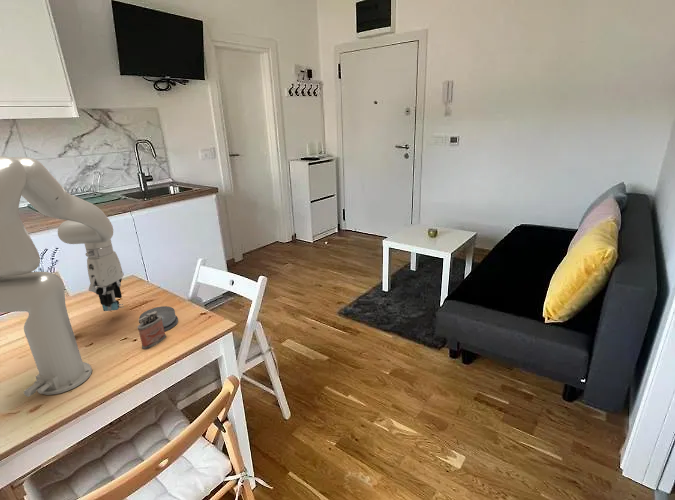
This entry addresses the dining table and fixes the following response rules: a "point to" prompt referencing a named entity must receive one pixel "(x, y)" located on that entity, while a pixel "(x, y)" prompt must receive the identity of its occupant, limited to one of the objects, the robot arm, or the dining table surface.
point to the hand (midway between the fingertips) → (111, 300)
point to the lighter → (151, 330)
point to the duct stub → (164, 316)
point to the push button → (111, 299)
